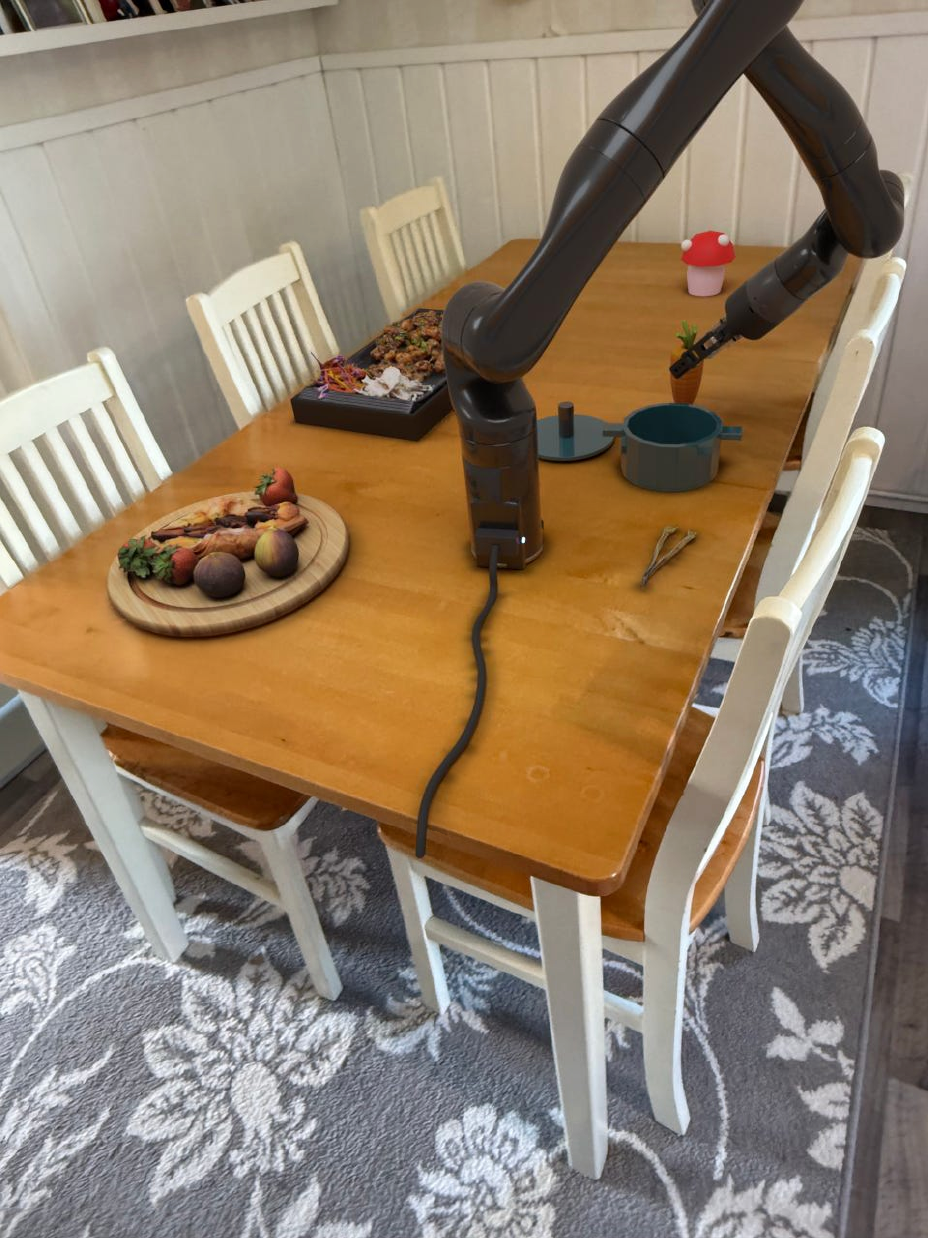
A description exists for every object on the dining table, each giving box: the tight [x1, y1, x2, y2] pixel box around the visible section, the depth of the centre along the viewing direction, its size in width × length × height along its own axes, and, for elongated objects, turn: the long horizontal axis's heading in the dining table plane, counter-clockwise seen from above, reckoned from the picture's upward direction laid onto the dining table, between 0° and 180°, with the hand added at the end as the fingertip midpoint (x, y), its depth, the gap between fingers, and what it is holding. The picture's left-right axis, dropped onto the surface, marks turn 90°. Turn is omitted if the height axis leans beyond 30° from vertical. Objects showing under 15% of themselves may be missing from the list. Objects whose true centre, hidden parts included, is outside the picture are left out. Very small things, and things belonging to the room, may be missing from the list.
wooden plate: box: [106, 467, 350, 638], centre depth 112 cm, size 32×32×8 cm
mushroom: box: [680, 230, 736, 297], centre depth 176 cm, size 11×11×12 cm
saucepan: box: [603, 402, 743, 493], centre depth 121 cm, size 14×19×7 cm
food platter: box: [289, 307, 454, 442], centre depth 155 cm, size 45×25×10 cm, turn 153°
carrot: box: [669, 319, 705, 405], centre depth 131 cm, size 5×5×15 cm
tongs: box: [640, 525, 698, 589], centre depth 105 cm, size 4×13×2 cm, turn 151°
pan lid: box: [537, 401, 615, 462], centre depth 131 cm, size 15×15×6 cm
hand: (687, 363), depth 130 cm, fingers open, 8 cm apart
